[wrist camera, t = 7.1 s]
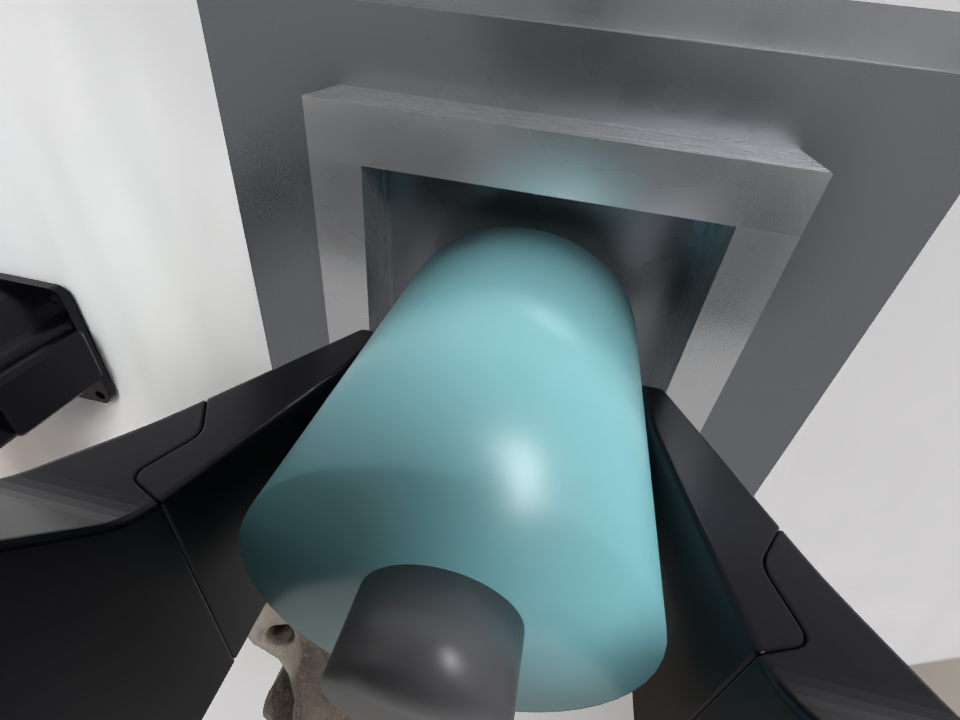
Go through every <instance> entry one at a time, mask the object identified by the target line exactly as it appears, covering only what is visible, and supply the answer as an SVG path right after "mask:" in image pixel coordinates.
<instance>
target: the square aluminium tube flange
mask: <svg viewBox="0 0 960 720" xmlns="http://www.w3.org/2000/svg"><path fill="white" fill-rule="evenodd" d="M197 4H198V9H199V14H200V18H201V23H202V28H203V33H204V38H205V43H206V48H207V53H208V57H209V62H210V67H211V72H212V77H213V82H214V87H215V92H216V96H217V101H218V106H219V111H220V116H221V121H222V126H223V131H224V135H225V140H226V145H227V150H228V155H229V160H230V165H231V170H232V174H233V179H234V184H235V189H236V194H237V199H238V204H239V209H240V213H241V218H242V223H243V228H244V233H245V238H246V243H247V248H248V252H249V257H250V262H251V267H252V272H253V277H254V282H255V287H256V291H257V296H258V301H259V306H260V311H261V316H262V321H263V326H264V331H265V335H266V340H267V345H268V350H269V355H270V360H271V365H272V370H273V369H275V368H277V367H279V366H282V365H284V364H286V363H288V362H291V361H293V360H295V359H297V358H299V357H302V356H304V355H306V354H308V353H310V352H313V351H315V350H317V349H319V348H321V347H324V346H326V345H328V344H330V343H332V342H335V341H337V340H339V339H341V338H344V337H346V336H348V335H350V334H352V333H355V332H357V331H359V330H369V331H374V332H375V331H376V329H377V328H378V326H379V325H380V324H381V322H382V321H383V319H384V318H385V316H386V315H387V314H388V312H389V311H390V309H391V308H392V307H393V305H394V304H395V302H396V301H397V300H398V298H399V297H400V295H401V294H402V293H403V291H404V290H405V288H406V287H407V286H408V284H409V283H410V281H411V280H412V279H413V277H414V276H415V274H416V273H417V272H418V270H419V269H420V268H421V266H422V265H423V264H424V263H425V262H426V261H427V259H428V258H429V257H431V256H432V255H433V254H434V253H435V252H436V251H437V250H439V249H440V248H442V247H443V246H445V245H446V244H448V243H449V242H451V241H453V240H455V239H457V238H459V237H462V236H464V235H466V234H469V233H473V232H476V231H479V230H484V229H491V228H497V227H521V228H531V229H536V230H541V231H545V232H549V233H552V234H555V235H557V236H560V237H563V238H565V239H568V240H570V241H572V242H573V243H575V244H577V245H579V246H581V247H583V248H584V249H586V250H587V251H588V252H590V253H591V254H593V255H594V256H595V257H597V258H598V259H599V260H600V261H601V262H602V263H603V264H604V265H605V266H606V267H607V268H608V269H609V270H610V271H611V272H612V274H613V275H614V276H615V277H616V279H617V280H618V281H619V283H620V284H621V286H622V288H623V289H624V291H625V293H626V295H627V297H628V300H629V302H630V305H631V307H632V310H633V315H634V319H635V325H636V335H637V345H638V354H639V364H640V374H641V384H642V386H643V385H644V386H649V387H654V388H659V389H662V390H664V391H665V392H666V394H667V395H668V396H669V397H670V398H671V400H672V401H673V402H674V403H675V404H676V405H677V407H678V408H679V409H680V410H681V411H682V413H683V414H684V415H685V416H686V417H687V418H688V420H689V421H690V422H691V423H692V424H693V426H694V427H695V428H696V429H697V430H698V432H699V433H700V434H701V435H702V436H703V437H704V439H705V440H706V441H707V442H708V443H709V445H710V446H711V447H712V448H713V449H714V450H715V452H716V453H717V454H718V455H719V456H720V458H721V459H722V460H723V461H724V462H725V463H726V465H727V466H728V467H729V468H730V469H731V471H732V472H733V473H734V474H735V475H736V476H737V478H738V479H739V480H740V481H741V482H742V484H743V485H744V486H745V487H746V488H747V489H748V491H749V492H750V493H751V494H752V495H753V496H754V495H755V493H756V492H757V490H758V489H759V487H760V486H761V485H762V483H763V482H764V480H765V479H766V477H767V476H768V474H769V473H770V471H771V470H772V468H773V467H774V465H775V464H776V463H777V461H778V460H779V458H780V457H781V455H782V454H783V452H784V451H785V449H786V448H787V446H788V445H789V444H790V442H791V441H792V439H793V438H794V436H795V435H796V433H797V432H798V430H799V429H800V427H801V426H802V424H803V423H804V422H805V420H806V419H807V417H808V416H809V414H810V413H811V411H812V410H813V408H814V407H815V405H816V404H817V403H818V401H819V400H820V398H821V397H822V395H823V394H824V392H825V391H826V389H827V388H828V386H829V385H830V383H831V382H832V381H833V379H834V378H835V376H836V375H837V373H838V372H839V370H840V369H841V367H842V366H843V364H844V363H845V362H846V360H847V359H848V357H849V356H850V354H851V353H852V351H853V350H854V348H855V347H856V345H857V344H858V342H859V341H860V340H861V338H862V337H863V335H864V334H865V332H866V331H867V329H868V328H869V326H870V325H871V323H872V322H873V321H874V319H875V318H876V316H877V315H878V313H879V312H880V310H881V309H882V307H883V306H884V304H885V303H886V301H887V300H888V299H889V297H890V296H891V294H892V293H893V291H894V290H895V288H896V287H897V285H898V284H899V282H900V281H901V280H902V278H903V277H904V275H905V274H906V272H907V271H908V269H909V268H910V266H911V265H912V263H913V262H914V260H915V259H916V258H917V256H918V255H919V253H920V252H921V250H922V249H923V247H924V246H925V244H926V243H927V241H928V240H929V239H930V237H931V236H932V234H933V233H934V231H935V230H936V228H937V227H938V225H939V224H940V222H941V221H942V219H943V218H944V217H945V215H946V214H947V212H948V211H949V209H950V208H951V206H952V205H953V203H954V202H955V200H956V199H957V198H958V196H959V195H960V12H952V11H943V10H934V9H925V8H915V7H906V6H897V5H888V4H879V3H870V2H861V1H852V0H197Z"/></svg>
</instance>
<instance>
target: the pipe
mask: <svg viewBox="0 0 960 720" xmlns="http://www.w3.org/2000/svg"><path fill="white" fill-rule="evenodd" d="M248 637H249V639H250V640H251V641H252V643H253V644H255V645H257V646H259V647H260V648H262V649H264V650H266V651H267V652H269V653H270V654H272V655H273V656H275V657H277V658H278V659H279V660H280V662H281V663H282V665H283V667H282V668H281V670H280V672H279V674H278V676H277V678H276V680H275V682H274V684H273V686H272V688H271V689H270V691H269V693H268V695H267V698H266V700H265V704H264V708H263V716H264V717H265V718H266V719H267V720H353V719H351V718H350V717H348V716H347V715H345V714H344V713H342V712H341V711H340V710H339V709H337V708H336V707H335V706H334V705H333V704H332V703H331V702H330V701H329V700H328V699H327V698H326V696H325V695H324V693H323V691H322V689H321V686H320V680H321V676H322V674H323V672H324V669H325V667H326V665H327V662H328V660H329V657H330V655H331V654H330V653H328V652H327V651H325V650H324V649H322V648H320V647H319V646H317V645H316V644H314V643H313V642H311V641H310V640H309V639H307V638H306V637H304V636H303V635H302V634H300V633H299V632H298V631H297V630H295V629H294V628H293V627H292V626H291V625H289V624H288V623H287V622H286V621H285V620H284V619H283V618H282V617H281V616H280V615H279V614H278V613H277V612H276V611H275V610H274V609H273V608H272V607H270V605H269V604H268V603H267V602H266V604H265V606H264V608H263V610H262V611H261V613H260V615H259V617H258V619H257V621H256V622H255V624H254V626H253V628H252V630H251V631H250V633H249V635H248Z"/></svg>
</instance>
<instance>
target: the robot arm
mask: <svg viewBox="0 0 960 720" xmlns="http://www.w3.org/2000/svg"><path fill="white" fill-rule="evenodd" d="M373 333H374V331H369V330H359V331H357V332H355V333H352V334H350V335H348V336H346V337H344V338H341V339H339V340H337V341H335V342H332V343H330V344H328V345H326V346H324V347H321V348H319V349H317V350H315V351H313V352H310V353H308V354H306V355H304V356H302V357H299V358H297V359H295V360H293V361H291V362H288V363H286V364H284V365H282V366H279V367H277V368H275V369H273V370H271V371H268V372H266V373H264V374H262V375H260V376H257V377H255V378H253V379H251V380H249V381H246V382H244V383H242V384H240V385H237V386H235V387H233V388H231V389H229V390H226V391H224V392H222V393H220V394H218V395H215V396H213V397H211V398H209V399H208V400H207V402H206V401H202V402H200V403H197V404H195V405H193V406H191V407H189V408H186V409H184V410H182V411H180V412H177V413H175V414H173V415H170V416H168V417H166V418H163V419H161V420H159V421H156V422H154V423H152V424H149V425H147V426H144V427H141V428H139V429H136V430H134V431H131V432H129V433H126V434H124V435H121V436H118V437H116V438H113V439H111V440H108V441H105V442H103V443H100V444H97V445H95V446H92V447H89V448H87V449H84V450H81V451H79V452H76V453H73V454H71V455H68V456H65V457H63V458H60V459H57V460H55V461H52V462H49V463H47V464H44V465H41V466H39V467H36V468H33V469H31V470H28V471H25V472H22V473H19V474H16V475H12V476H9V477H5V478H1V479H0V720H202V718H203V717H204V715H205V713H206V711H207V709H208V708H209V705H210V704H211V702H212V700H213V699H214V697H215V695H216V693H217V691H218V690H219V688H220V686H221V684H222V682H223V681H224V679H225V677H226V675H227V673H228V671H229V670H230V668H231V666H232V664H233V663H234V659H233V658H236V657H237V655H238V653H239V651H240V649H241V648H242V646H243V644H244V642H245V640H246V638H247V637H248V635H249V633H250V631H251V630H252V628H253V626H254V624H255V622H256V621H257V619H258V617H259V615H260V613H261V611H262V610H263V608H264V606H265V604H266V600H265V599H264V598H263V597H262V596H261V594H260V593H259V592H258V590H257V589H256V587H255V585H254V584H253V582H252V581H251V579H250V577H249V575H248V573H247V571H246V569H245V566H244V564H243V560H242V556H241V552H240V542H239V534H240V529H241V525H242V521H243V519H244V517H245V515H246V513H247V511H248V509H249V507H250V506H251V505H252V503H253V502H254V500H255V499H256V498H257V496H258V495H259V493H260V492H261V491H262V489H263V488H264V486H265V485H266V484H267V482H268V481H269V479H270V478H271V477H272V475H273V474H274V472H275V471H276V470H277V468H278V467H279V465H280V464H281V463H282V461H283V460H284V458H285V457H286V455H287V454H288V453H289V451H290V450H291V448H292V447H293V446H294V444H295V443H296V441H297V440H298V439H299V437H300V436H301V434H302V433H303V432H304V430H305V429H306V427H307V426H308V425H309V423H310V422H311V420H312V419H313V418H314V416H315V415H316V413H317V412H318V411H319V409H320V408H321V406H322V405H323V404H324V402H325V401H326V399H327V398H328V397H329V395H330V394H331V392H332V391H333V389H334V388H335V387H336V385H337V384H338V382H339V381H340V380H341V378H342V377H343V375H344V374H345V373H346V371H347V370H348V368H349V367H350V366H351V364H352V363H353V361H354V360H355V359H356V357H357V356H358V354H359V353H360V352H361V350H362V349H363V347H364V346H365V345H366V343H367V342H368V340H369V339H370V338H371V336H372V335H373ZM642 393H643V403H644V413H645V423H646V433H647V442H648V452H649V462H650V472H651V482H652V491H653V501H654V511H655V521H656V530H657V540H658V550H659V560H660V570H661V579H662V589H663V599H664V609H665V618H666V631H667V645H666V649H665V654H664V658H663V660H662V662H661V663H660V665H659V667H658V669H657V670H656V672H655V673H654V674H653V675H652V676H651V677H650V678H649V679H648V680H647V681H646V682H645V683H644V684H643V685H641V686H640V687H638V688H637V689H636V690H634V691H633V709H634V720H960V717H959V716H958V715H957V714H956V713H955V712H954V711H953V710H951V709H950V707H948V706H947V705H946V704H945V703H944V702H943V701H942V700H941V699H940V698H939V697H938V696H937V695H936V694H935V693H934V692H933V691H932V690H931V689H930V688H929V687H928V686H927V684H925V682H924V681H923V680H922V679H921V678H920V677H919V676H918V675H917V674H916V673H915V672H914V671H913V670H912V669H911V668H910V667H909V666H908V665H907V664H906V663H905V662H904V661H903V660H902V659H901V658H900V657H899V656H898V655H897V654H896V653H895V652H894V651H893V650H892V649H891V648H890V647H889V646H888V645H887V644H886V643H885V642H884V641H883V640H882V639H881V637H880V636H879V635H878V634H877V633H876V632H875V631H874V630H873V629H872V628H871V627H870V626H869V625H868V624H867V623H866V622H865V621H864V620H863V619H862V618H861V617H860V616H859V615H858V614H857V613H856V612H855V611H854V610H853V609H852V608H851V607H850V606H849V604H848V603H847V602H846V601H845V600H844V599H843V598H842V597H841V596H840V595H839V594H838V593H837V592H836V591H835V590H834V589H833V588H832V587H831V586H830V584H829V583H828V582H827V581H826V580H825V579H824V578H823V577H822V576H821V575H820V573H819V572H818V571H817V570H816V569H815V568H814V567H813V565H812V564H811V563H810V562H809V561H808V560H807V559H806V558H805V556H804V555H803V554H802V553H801V552H800V551H799V550H798V548H797V547H796V546H795V545H794V544H793V542H792V541H791V540H790V539H789V538H788V537H787V535H786V534H785V533H784V532H783V531H778V530H779V526H778V525H777V524H776V523H775V521H774V520H773V519H772V518H771V517H770V516H769V514H768V513H767V512H766V511H765V510H764V508H763V507H762V506H761V505H760V504H759V503H758V501H757V500H756V499H755V498H754V497H753V495H752V494H751V493H750V492H749V491H748V489H747V488H746V487H745V486H744V485H743V484H742V482H741V481H740V480H739V479H738V478H737V476H736V475H735V474H734V473H733V472H732V471H731V469H730V468H729V467H728V466H727V465H726V463H725V462H724V461H723V460H722V459H721V458H720V456H719V455H718V454H717V453H716V452H715V450H714V449H713V448H712V447H711V446H710V445H709V443H708V442H707V441H706V440H705V439H704V437H703V436H702V435H701V434H700V433H699V432H698V430H697V429H696V428H695V427H694V426H693V424H692V423H691V422H690V421H689V420H688V418H687V417H686V416H685V415H684V414H683V413H682V411H681V410H680V409H679V408H678V407H677V405H676V404H675V403H674V402H673V401H672V400H671V398H670V397H669V396H668V395H667V394H666V392H665V391H664V390H662V389H659V388H654V387H649V386H644V385H643V386H642ZM76 397H82V398H86V399H90V400H95V401H99V402H103V403H108V402H110V401H111V400H112V399H114V398H115V397H116V392H115V390H114V388H113V386H112V383H111V381H110V379H109V377H108V375H107V373H106V371H105V368H104V366H103V364H102V362H101V360H100V358H99V356H98V353H97V351H96V349H95V347H94V345H93V343H92V341H91V338H90V336H89V334H88V332H87V330H86V328H85V326H84V323H83V321H82V319H81V317H80V315H79V313H78V311H77V308H76V306H75V304H74V302H73V300H72V298H71V296H70V294H69V293H68V292H67V291H66V290H65V289H64V288H63V287H61V286H59V285H57V284H52V283H47V282H42V281H37V280H33V279H28V278H23V277H18V276H13V275H8V274H3V273H0V448H2V447H3V446H4V445H6V444H7V443H9V442H10V441H11V440H13V439H14V438H15V437H17V436H18V435H19V436H23V435H26V434H27V433H29V432H30V431H31V430H33V429H34V428H36V427H37V426H38V425H40V424H41V423H42V422H44V421H45V420H46V419H48V418H49V417H51V416H52V415H53V414H55V413H56V412H57V411H59V410H60V409H61V408H63V407H64V406H66V405H67V404H68V403H70V402H71V401H72V400H74V399H75V398H76Z"/></svg>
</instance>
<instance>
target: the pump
mask: <svg viewBox="0 0 960 720" xmlns="http://www.w3.org/2000/svg"><path fill="white" fill-rule="evenodd" d="M239 542H240V552H241V556H242V560H243V564H244V566H245V569H246V571H247V573H248V575H249V577H250V579H251V581H252V582H253V584H254V585H255V587H256V589H257V590H258V592H259V593H260V594H261V596H262V597H263V598H264V599H265V600H266V602H267V603H268V604H269V605H270V607H272V608H273V609H274V610H275V611H276V612H277V613H278V614H279V615H280V616H281V617H282V618H283V619H284V620H285V621H286V622H287V623H288V624H289V625H291V626H292V627H293V628H294V629H295V630H297V631H298V632H299V633H300V634H302V635H303V636H304V637H306V638H307V639H309V640H310V641H311V642H313V643H314V644H316V645H317V646H319V647H320V648H322V649H324V650H325V651H327V652H328V653H330V654H331V655H330V657H329V660H328V662H327V665H326V667H325V669H324V672H323V674H322V676H321V680H320V686H321V689H322V691H323V693H324V695H325V696H326V698H327V699H328V700H329V701H330V702H331V703H332V704H333V705H334V706H335V707H336V708H337V709H339V710H340V711H341V712H342V713H344V714H345V715H347V716H348V717H350V718H351V719H353V720H514V714H515V712H559V711H569V710H577V709H583V708H588V707H592V706H597V705H601V704H604V703H607V702H610V701H613V700H616V699H618V698H620V697H622V696H625V695H627V694H629V693H631V692H633V691H634V690H636V689H637V688H638V687H640V686H641V685H643V684H644V683H645V682H646V681H647V680H648V679H649V678H650V677H651V676H652V675H653V674H654V673H655V672H656V670H657V669H658V667H659V665H660V663H661V662H662V660H663V658H664V654H665V649H666V645H667V631H666V618H665V609H664V599H663V589H662V579H661V570H660V560H659V550H658V540H657V530H656V521H655V511H654V501H653V491H652V482H651V472H650V462H649V452H648V442H647V433H646V423H645V413H644V403H643V393H642V384H641V374H640V364H639V354H638V345H637V335H636V325H635V319H634V315H633V310H632V307H631V305H630V302H629V300H628V297H627V295H626V293H625V291H624V289H623V288H622V286H621V284H620V283H619V281H618V280H617V279H616V277H615V276H614V275H613V274H612V272H611V271H610V270H609V269H608V268H607V267H606V266H605V265H604V264H603V263H602V262H601V261H600V260H599V259H598V258H597V257H595V256H594V255H593V254H591V253H590V252H588V251H587V250H586V249H584V248H583V247H581V246H579V245H577V244H575V243H573V242H572V241H570V240H568V239H565V238H563V237H560V236H557V235H555V234H552V233H549V232H545V231H541V230H536V229H531V228H521V227H497V228H491V229H484V230H479V231H476V232H473V233H469V234H466V235H464V236H462V237H459V238H457V239H455V240H453V241H451V242H449V243H448V244H446V245H445V246H443V247H442V248H440V249H439V250H437V251H436V252H435V253H434V254H433V255H432V256H431V257H429V258H428V259H427V261H426V262H425V263H424V264H423V265H422V266H421V268H420V269H419V270H418V272H417V273H416V274H415V276H414V277H413V279H412V280H411V281H410V283H409V284H408V286H407V287H406V288H405V290H404V291H403V293H402V294H401V295H400V297H399V298H398V300H397V301H396V302H395V304H394V305H393V307H392V308H391V309H390V311H389V312H388V314H387V315H386V316H385V318H384V319H383V321H382V322H381V324H380V325H379V326H378V328H377V329H376V331H375V332H374V333H373V335H372V336H371V338H370V339H369V340H368V342H367V343H366V345H365V346H364V347H363V349H362V350H361V352H360V353H359V354H358V356H357V357H356V359H355V360H354V361H353V363H352V364H351V366H350V367H349V368H348V370H347V371H346V373H345V374H344V375H343V377H342V378H341V380H340V381H339V382H338V384H337V385H336V387H335V388H334V389H333V391H332V392H331V394H330V395H329V397H328V398H327V399H326V401H325V402H324V404H323V405H322V406H321V408H320V409H319V411H318V412H317V413H316V415H315V416H314V418H313V419H312V420H311V422H310V423H309V425H308V426H307V427H306V429H305V430H304V432H303V433H302V434H301V436H300V437H299V439H298V440H297V441H296V443H295V444H294V446H293V447H292V448H291V450H290V451H289V453H288V454H287V455H286V457H285V458H284V460H283V461H282V463H281V464H280V465H279V467H278V468H277V470H276V471H275V472H274V474H273V475H272V477H271V478H270V479H269V481H268V482H267V484H266V485H265V486H264V488H263V489H262V491H261V492H260V493H259V495H258V496H257V498H256V499H255V500H254V502H253V503H252V505H251V506H250V507H249V509H248V511H247V513H246V515H245V517H244V519H243V521H242V525H241V529H240V534H239Z"/></svg>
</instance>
